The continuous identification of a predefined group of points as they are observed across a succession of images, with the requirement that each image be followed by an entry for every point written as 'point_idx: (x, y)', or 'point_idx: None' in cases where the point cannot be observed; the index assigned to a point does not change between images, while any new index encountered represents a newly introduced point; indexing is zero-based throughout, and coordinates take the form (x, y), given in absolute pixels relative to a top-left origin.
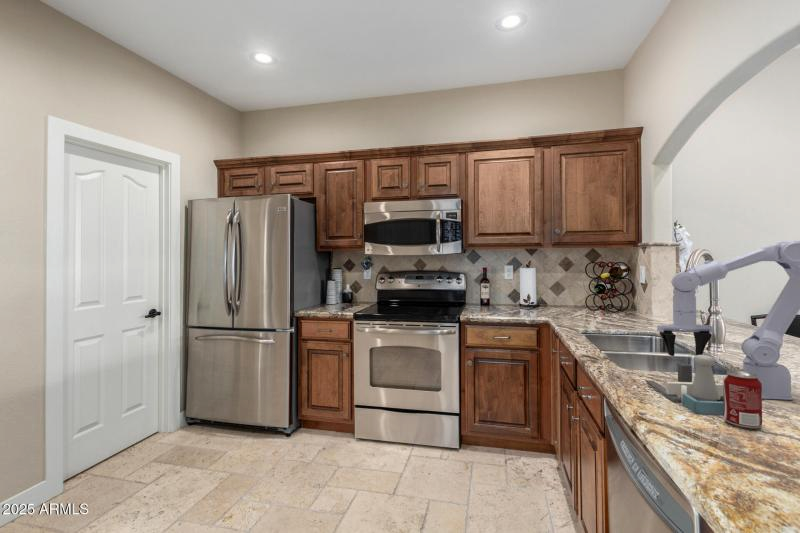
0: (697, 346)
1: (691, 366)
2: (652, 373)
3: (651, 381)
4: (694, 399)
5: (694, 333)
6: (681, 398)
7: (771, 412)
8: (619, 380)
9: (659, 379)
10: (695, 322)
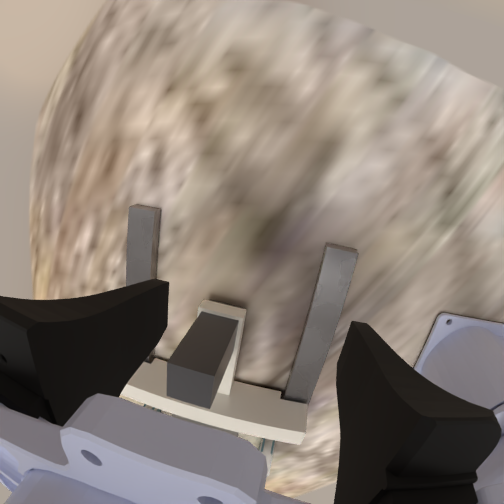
0: (358, 380)
1: (209, 406)
2: (257, 40)
3: (141, 223)
4: None
5: (401, 437)
6: (143, 406)
7: (335, 459)
8: (67, 161)
9: (226, 140)
10: None
